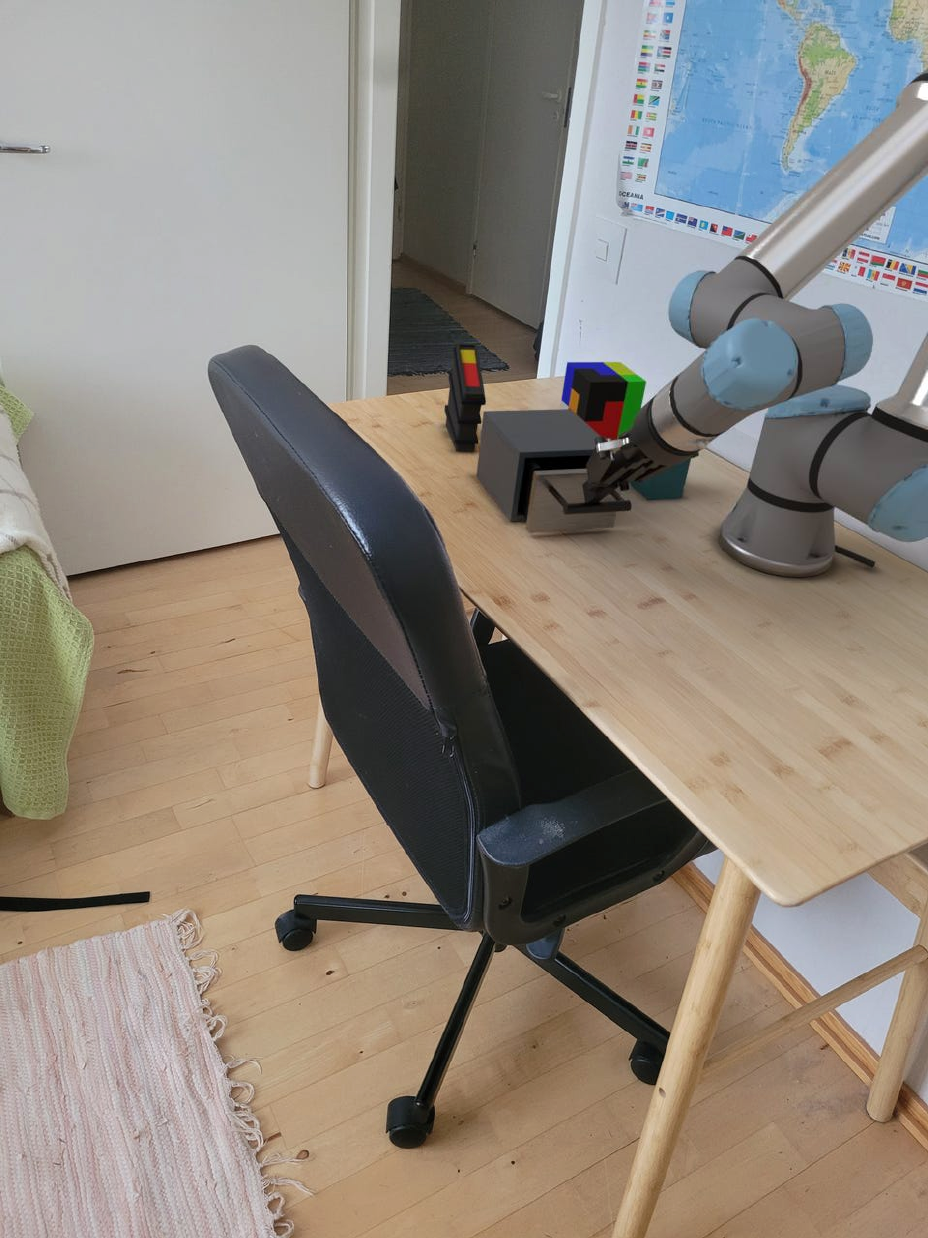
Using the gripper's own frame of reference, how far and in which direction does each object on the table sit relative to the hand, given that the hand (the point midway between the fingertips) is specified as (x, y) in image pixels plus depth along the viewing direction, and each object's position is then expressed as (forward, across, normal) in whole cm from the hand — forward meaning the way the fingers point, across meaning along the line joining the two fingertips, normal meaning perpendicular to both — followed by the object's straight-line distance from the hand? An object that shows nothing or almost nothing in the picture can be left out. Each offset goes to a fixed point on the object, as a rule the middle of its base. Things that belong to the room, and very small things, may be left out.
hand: (588, 494), depth 122 cm
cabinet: (+17, 0, +6) cm, 18 cm away
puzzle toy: (+34, +21, +23) cm, 46 cm away
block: (+17, +20, +6) cm, 26 cm away
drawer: (+10, 0, 0) cm, 10 cm away
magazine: (+32, -5, +20) cm, 38 cm away
